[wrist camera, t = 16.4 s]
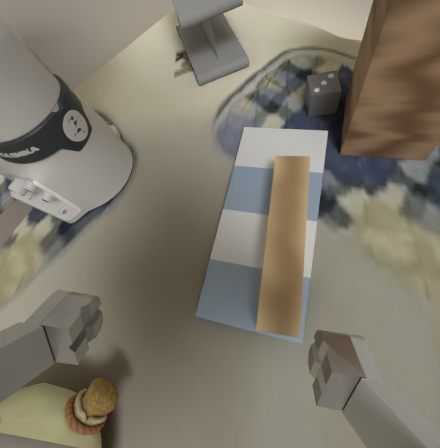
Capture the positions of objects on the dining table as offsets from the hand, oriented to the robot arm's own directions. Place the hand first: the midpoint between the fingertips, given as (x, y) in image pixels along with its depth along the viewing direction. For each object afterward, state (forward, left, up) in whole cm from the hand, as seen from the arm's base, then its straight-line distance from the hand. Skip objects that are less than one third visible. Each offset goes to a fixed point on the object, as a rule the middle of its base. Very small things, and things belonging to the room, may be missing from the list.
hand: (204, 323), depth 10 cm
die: (+4, +34, -22) cm, 41 cm away
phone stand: (-18, +48, -22) cm, 56 cm away
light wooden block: (+2, +10, -21) cm, 23 cm away
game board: (-1, +14, -22) cm, 26 cm away
